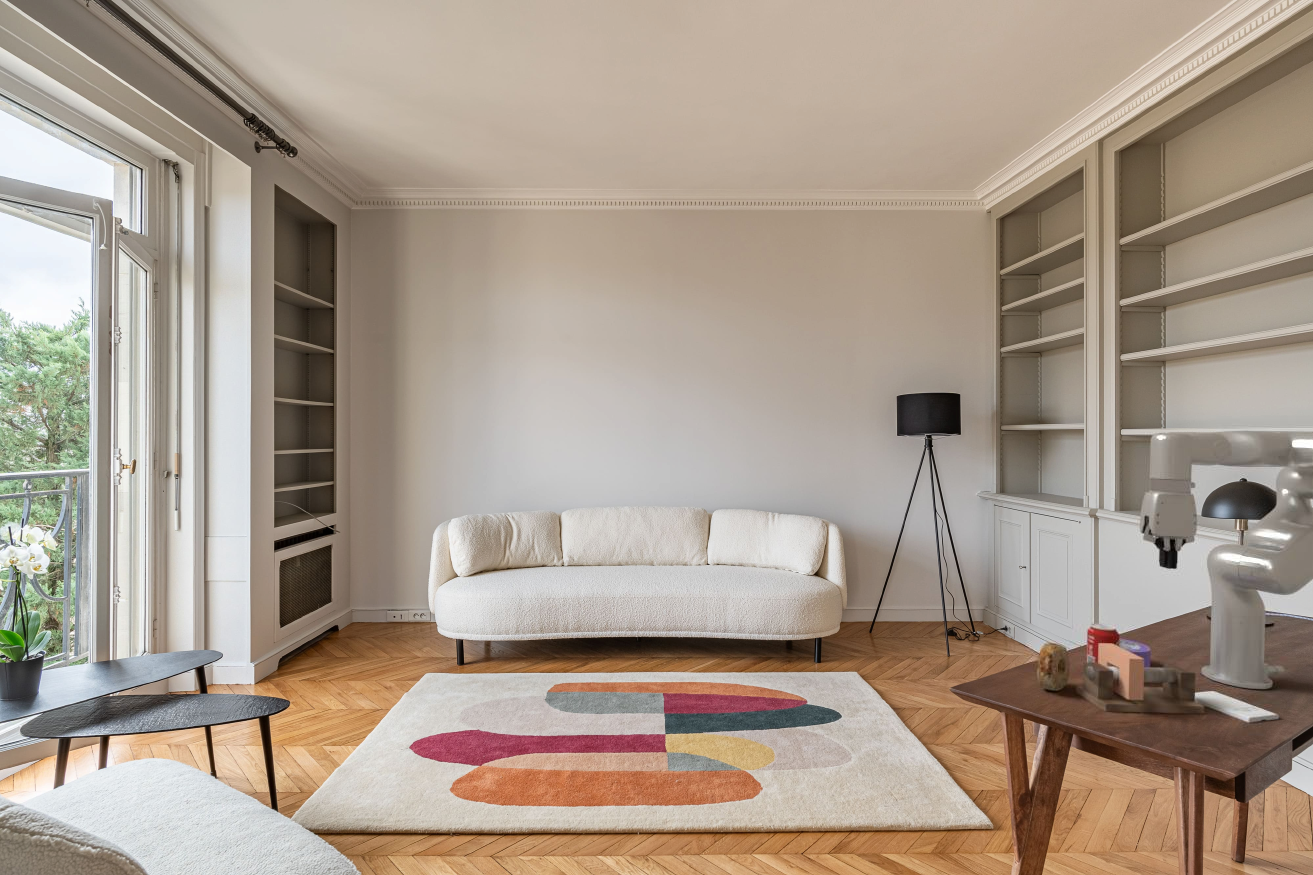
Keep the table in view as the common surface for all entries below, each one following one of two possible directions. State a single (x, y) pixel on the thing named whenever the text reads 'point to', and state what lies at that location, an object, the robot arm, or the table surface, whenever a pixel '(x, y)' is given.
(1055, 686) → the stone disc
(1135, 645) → the tape roll
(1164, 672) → the pipe stand
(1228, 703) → the external hard drive
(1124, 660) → the collar
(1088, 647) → the beverage can
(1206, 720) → the table surface
